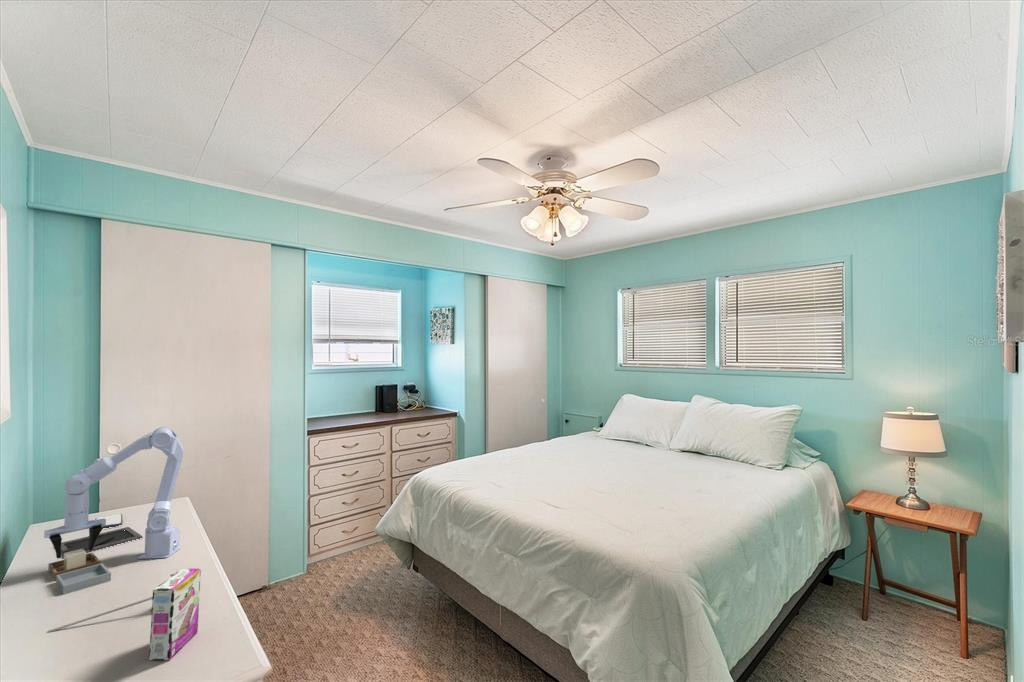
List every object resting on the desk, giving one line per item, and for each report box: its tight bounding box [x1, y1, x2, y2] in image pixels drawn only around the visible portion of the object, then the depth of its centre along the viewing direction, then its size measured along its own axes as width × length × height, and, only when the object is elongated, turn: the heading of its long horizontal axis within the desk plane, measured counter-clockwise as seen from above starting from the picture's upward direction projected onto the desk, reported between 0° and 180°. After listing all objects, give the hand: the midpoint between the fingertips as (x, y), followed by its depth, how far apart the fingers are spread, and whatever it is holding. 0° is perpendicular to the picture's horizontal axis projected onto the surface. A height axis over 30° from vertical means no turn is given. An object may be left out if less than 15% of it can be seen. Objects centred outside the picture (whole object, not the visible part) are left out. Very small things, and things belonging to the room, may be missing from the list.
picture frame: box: [61, 526, 143, 555], centre depth 171 cm, size 16×2×21 cm
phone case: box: [94, 513, 124, 529], centre depth 190 cm, size 9×2×16 cm
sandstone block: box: [63, 549, 87, 570], centre depth 150 cm, size 4×4×5 cm
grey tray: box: [55, 562, 112, 595], centre depth 142 cm, size 11×11×2 cm
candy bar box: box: [148, 568, 202, 662], centre depth 112 cm, size 11×5×16 cm, turn 5°
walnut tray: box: [47, 552, 102, 582], centre depth 149 cm, size 11×11×2 cm
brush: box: [47, 569, 180, 634], centre depth 124 cm, size 4×27×9 cm, turn 117°
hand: (74, 553), depth 150 cm, fingers open, 7 cm apart
